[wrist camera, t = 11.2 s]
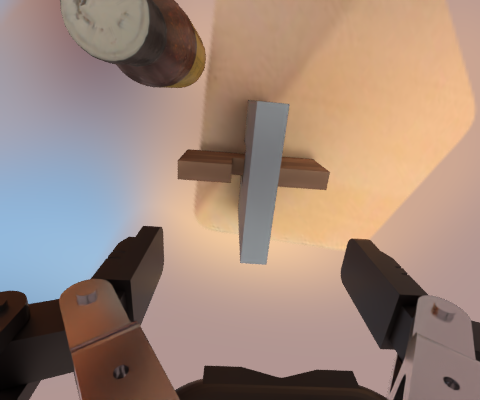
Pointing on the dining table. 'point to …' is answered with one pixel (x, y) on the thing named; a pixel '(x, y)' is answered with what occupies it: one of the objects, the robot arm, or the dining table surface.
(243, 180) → the grey block
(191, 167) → the walnut board
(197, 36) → the sauce bottle
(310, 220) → the dining table surface
